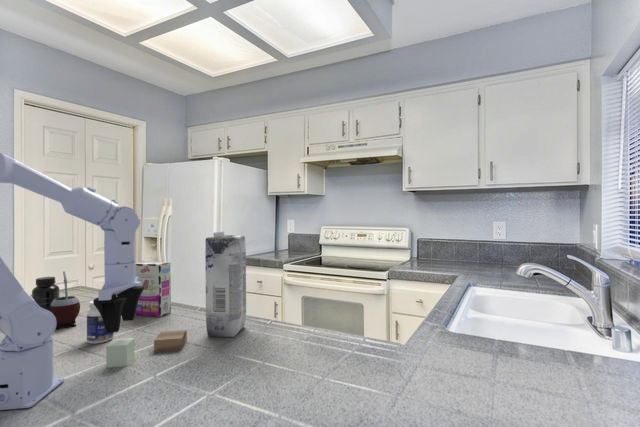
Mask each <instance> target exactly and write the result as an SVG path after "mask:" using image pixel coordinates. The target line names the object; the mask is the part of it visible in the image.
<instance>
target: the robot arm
mask: <svg viewBox="0 0 640 427" xmlns="http://www.w3.org/2000/svg"><path fill="white" fill-rule="evenodd" d="M0 184H13V185H15V186H18V187H20V188H23V189H26V190H28V191H31V192H33V193H36V194H38V195H40V196H43V197H46V198H48V199H51V200H53V201H56V202H58V203H60V204H61V206H62V208H63V210H64V211H63V212H65V213H67V214H69V215H71V216H74V217H76V218H79V219H80V220H82V221H85V222H88V223H89V224H90V223H91V224H92V225H96V226H98V227H99V228H100V230H102V231H103V234H104V236H103V237H104V238H103V239H104V242H103V246H104V247H103V248H104V249H103V250H104V251H103V252H104V254H103V258H104V260H103V261H104V266H103V267H104V284H103V285H102V287H101V289H99V290H98V297H95V298H94V299H93V300H92V301H93V304H94V305H95V307H96V308H97V309H98V311H99V313H100V315H101V317H102V320H103V323H104V326H105V329H106V332H107V333H112V332H114V333H118V332H119V331H120V327H121V321H123V322H126V321H127V322H129V321H130V322H131V321H133V320H134V319H135V316H136V315H135V313H136V308H137V304H138V301H139V298H140V296H141V294H142V292H143V290H144V287H143V286H140V285H141V281H138V277H135V263H136V231H137V229H138V228H140V224H141V219H140V218H139V215H138V214H137V213H136V211H135V209H133V208H132V207H129V206H125V205H124V206H119V200H118V201H117V200H116V199H111V200H110V199H109V198H107V197H104V196H103V195H101V194H98V193H97V192H96V191H97V190H96V189H95V188H93V187H91V186H90V187H84V186H77V187H74V188H71V187H69V186H67V185H65V184H63V183H61V182H59V181H57V180H55V179H54V178H51V177H50V176H48V175H46V174H43V173H41V172H40V171H37V170H36V169H34V168H32V167H30V166H28V165H26V164H25V163H23V162H21V161H19V160H17V159H14V158H13V157H10V156H9V155H6V154H4V153H3V152H0ZM56 323H57V322H56V318H55V316H54V315H53V314H52V313H51V312H50V311H48V310H46V309H43V308H41V307H40V306H39V305H38V304H37V303H36V302H35V300H34V299H33V298H32V295H30V294H29V293H28V292H27V291H26V290H25V288H24V287H23V286H22V284H21V283H20V281H19V280H18V279H17V278H16V276H15V275H14V273H13V272H12V270H11V269H10V268H9V266H8V265H7V264H6V262H5V261H4V260H3V259H2V257H1V256H0V332H1V333H2V334H4V335H5V336H4V337H3V339H2V340H1V342H0V411H7V410H18V409H28V408H29V409H30V408H31V407H33V406H34V405H36V404H37V403H38V402H39V401H41V400H42V399H43V398H45V397H46V396H47V395H48V394H49V393H50V392H53V390H55V389H56V388H57V387H58V386H60V385H61V384H62V383H64V382H65V378H64V377H60V378H59V377H58V378H56V377H55V378H54V346H53V345H54V340H53V338H54V336H53V335H54V332H55V331H56V330H55V329H56Z"/></svg>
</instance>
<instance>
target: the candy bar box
mask: <svg viewBox="0 0 640 427" xmlns="http://www.w3.org/2000/svg"><path fill="white" fill-rule="evenodd" d="M135 277H138V281H141V285H140V286H143V287H144V290H143V292H142V294H141V296H140V298H139V301H138V304H137V308H136V313H135V316H141V317H142V316H144V317H154V318H155V317H156V318H162V317H165V316H167V315H169V314H172V313H171V312H172V309H171V308H172V307H171V306H172V305H171V304H172V303H171V299H172V298H171V297H172V296H171V295H172V294H171V292H172V291H171V262H162V261H161V262H160V261H159V262H157V261H156V262H155V261H154V262H153V261H151V262H150V261H140V262H139V261H138V262H135Z"/></svg>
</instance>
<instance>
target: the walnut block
mask: <svg viewBox="0 0 640 427" xmlns="http://www.w3.org/2000/svg"><path fill="white" fill-rule="evenodd" d="M187 341H188V330H187V329H179V330H165V331H160V332H159V334H158V335H157V336H156V337H155V338H154V340H153V352H154V353H161V352H171V351H172V352H173V351H182V350H183V348H184V347H185V345H186V343H187Z"/></svg>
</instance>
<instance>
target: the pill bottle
mask: <svg viewBox="0 0 640 427" xmlns="http://www.w3.org/2000/svg"><path fill="white" fill-rule="evenodd" d="M88 307H89V309H90V310H89V311H88V312H87V314H86V341H87V343H88V344H92V345H93V344H95V345H97V344H103V343H106V342H108V341H112V339H113V338H114V333H115V332H112V333H107V332H106V329H105V326H104V323H103V320H102V317H101V315H100V313H99V311H98V309H97V308H96V307H95V305H94V304H93V300H91V301H89V303H88Z"/></svg>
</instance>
